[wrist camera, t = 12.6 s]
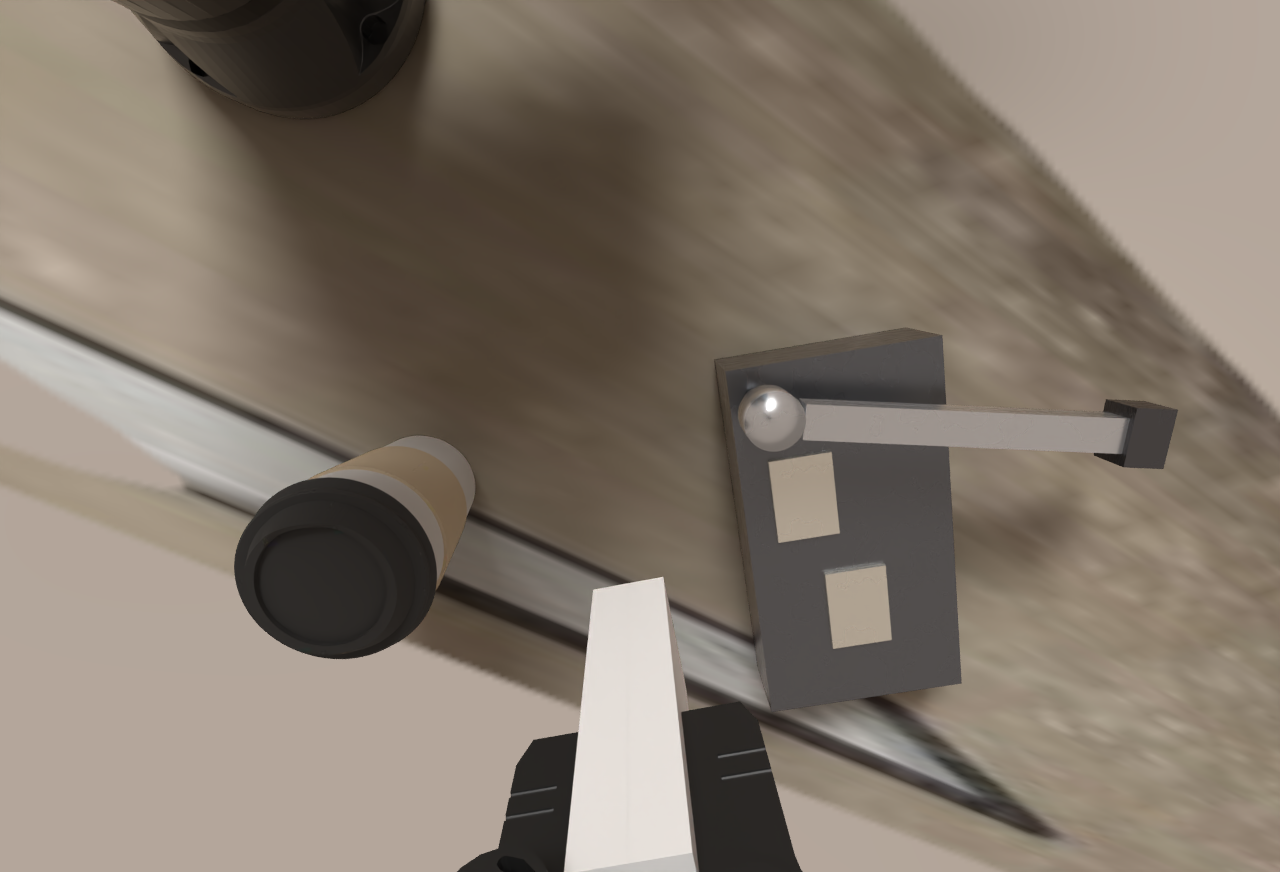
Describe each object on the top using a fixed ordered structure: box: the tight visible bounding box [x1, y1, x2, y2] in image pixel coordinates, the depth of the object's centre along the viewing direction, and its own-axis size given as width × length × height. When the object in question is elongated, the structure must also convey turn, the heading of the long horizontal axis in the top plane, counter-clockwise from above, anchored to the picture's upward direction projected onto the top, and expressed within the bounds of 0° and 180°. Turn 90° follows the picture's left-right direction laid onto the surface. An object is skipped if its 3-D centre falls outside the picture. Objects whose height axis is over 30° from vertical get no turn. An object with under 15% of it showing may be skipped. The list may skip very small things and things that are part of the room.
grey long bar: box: [738, 385, 1178, 469], centre depth 33 cm, size 21×3×2 cm, turn 87°
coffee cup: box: [234, 436, 475, 659], centre depth 36 cm, size 9×9×15 cm
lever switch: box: [715, 328, 961, 712], centre depth 40 cm, size 22×12×8 cm, turn 10°
